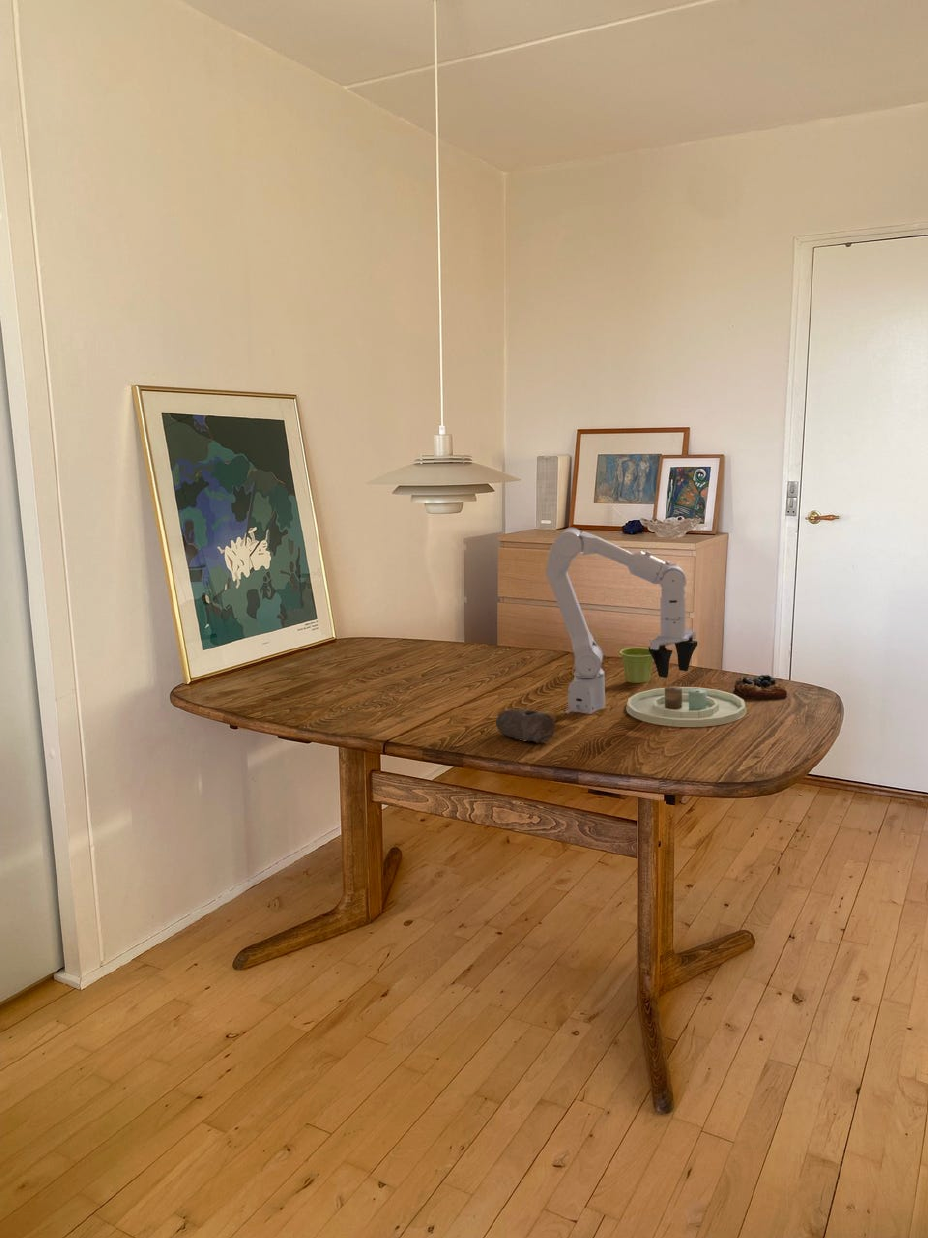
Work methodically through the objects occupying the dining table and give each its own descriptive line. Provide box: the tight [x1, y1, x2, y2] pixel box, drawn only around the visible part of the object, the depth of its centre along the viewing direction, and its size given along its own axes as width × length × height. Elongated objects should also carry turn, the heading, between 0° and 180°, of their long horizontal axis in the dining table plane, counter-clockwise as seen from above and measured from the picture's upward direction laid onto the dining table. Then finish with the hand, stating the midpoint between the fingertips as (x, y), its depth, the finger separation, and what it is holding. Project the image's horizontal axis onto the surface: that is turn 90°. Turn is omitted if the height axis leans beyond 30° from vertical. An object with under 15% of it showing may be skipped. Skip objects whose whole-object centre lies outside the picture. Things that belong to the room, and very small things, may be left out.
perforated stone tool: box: [495, 709, 555, 744], centre depth 207 cm, size 15×5×7 cm, turn 47°
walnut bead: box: [664, 685, 682, 709], centre depth 222 cm, size 4×4×5 cm
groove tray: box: [625, 686, 747, 728], centre depth 221 cm, size 28×28×2 cm
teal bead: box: [689, 689, 707, 711], centre depth 219 cm, size 4×4×5 cm
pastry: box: [733, 674, 788, 701], centre depth 230 cm, size 11×12×6 cm
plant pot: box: [619, 647, 654, 684], centre depth 247 cm, size 9×9×9 cm
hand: (673, 673), depth 221 cm, fingers open, 7 cm apart
